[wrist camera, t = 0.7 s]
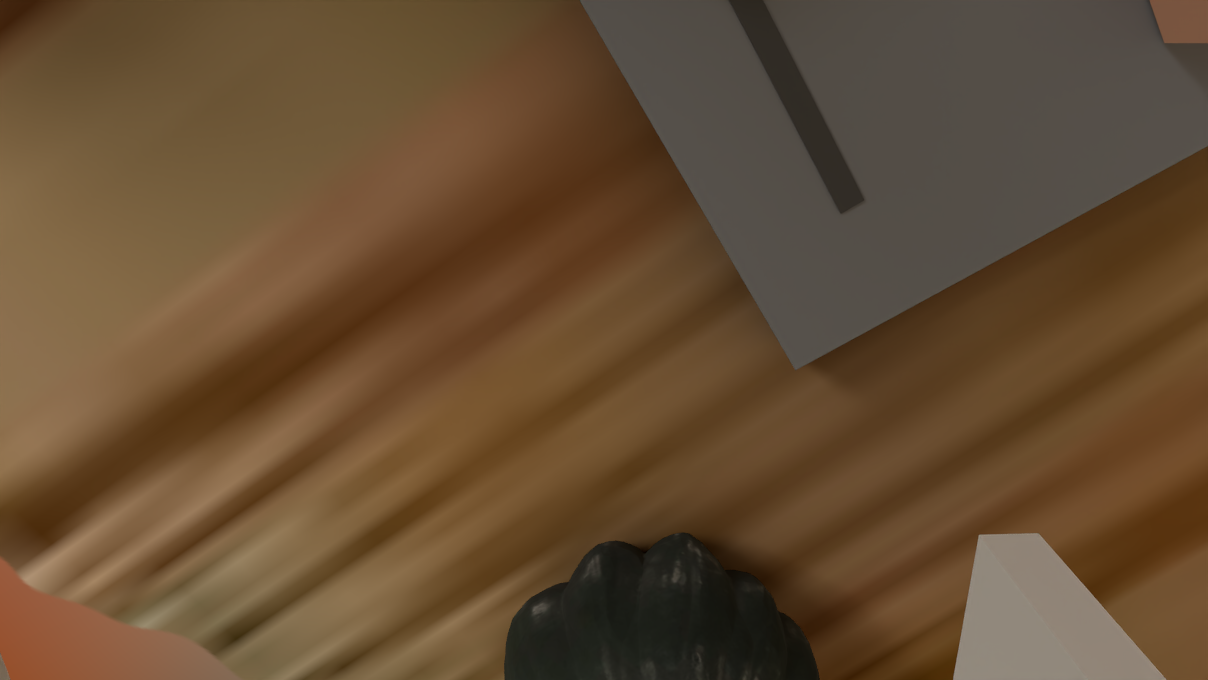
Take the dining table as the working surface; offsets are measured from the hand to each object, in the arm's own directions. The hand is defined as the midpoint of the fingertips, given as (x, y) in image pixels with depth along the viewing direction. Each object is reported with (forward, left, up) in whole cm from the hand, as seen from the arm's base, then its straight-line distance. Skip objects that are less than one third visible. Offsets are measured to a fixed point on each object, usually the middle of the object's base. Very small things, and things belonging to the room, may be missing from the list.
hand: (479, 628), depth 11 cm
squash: (+20, -8, -25) cm, 33 cm away
